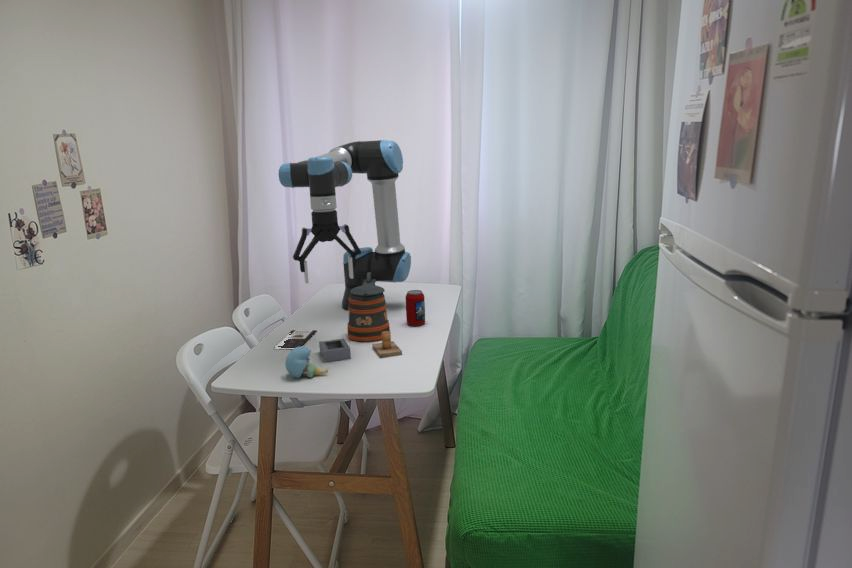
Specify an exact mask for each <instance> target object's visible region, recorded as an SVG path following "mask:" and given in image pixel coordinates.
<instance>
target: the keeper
mask: <svg viewBox="0 0 852 568" xmlns="http://www.w3.org/2000/svg"><path fill="white" fill-rule="evenodd" d="M391 336H392V335H391V331H390V332H389V331H384V332H382V340H381V342H380V343H379V342H378V343H373V344H371V345H372V349H373V350H374V352H375V353H376V355H377V356H378V357H379V358H380V359H382V358H389V357H396V356H401V355H403V351H402V349H401V348H400V347H399V346H398V345H397V344H396V342H395V341H394V340H393V341H392V339H391Z"/></svg>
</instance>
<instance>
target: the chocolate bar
mask: <svg viewBox="0 0 852 568" xmlns="http://www.w3.org/2000/svg"><path fill="white" fill-rule="evenodd" d="M315 332H316V333H317V332H318V330H315V329H310V330H309V329H305V330H304V329H302V330H301V329H297V330H296V329H292V330H291V331H289V333H291V334H289V333H288V334H289V335H292V336H291V337H288V338H290V339H288V340H286V341H284V343H285V344H284V345H283V346H278V347H281V348H296V347H301V346H303V345H304V344H305V343H306V342H307V341H308V340H309V341H310V340H311V338H312V337H313V336H315V334H316V333H315ZM312 335H313V336H312ZM291 338H292V339H291ZM309 341H308V342H309ZM308 342H307V343H308ZM307 343H306V344H307ZM306 344H305V345H306ZM305 345H304V346H305ZM304 346H303V347H304Z"/></svg>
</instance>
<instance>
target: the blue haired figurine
mask: <svg viewBox="0 0 852 568" xmlns="http://www.w3.org/2000/svg"><path fill="white" fill-rule="evenodd" d="M311 354H312V352H311V349H310V348H309V347H307V346H303V347H302V346H301V347H296V348H294V349H290V351H289V353H288V354H287V355H286V359H285V369H286V371H287V373H288V374H289V375H290V376H292V377H294V378H295V379H299V378H300V377H301V376H302V375H303V373H306V376H307V377H308V378H313V377H314V375H325V374H328V372H329V368H326V369H323V370H322V369H320V368H318V366H317V365H316V364H314V363H312V362H311V363H310V360H311V359H310V357H311Z"/></svg>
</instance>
